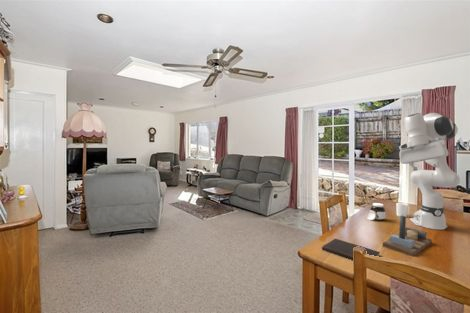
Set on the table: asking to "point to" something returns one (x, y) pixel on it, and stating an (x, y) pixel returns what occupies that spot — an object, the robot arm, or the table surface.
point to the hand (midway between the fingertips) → (425, 169)
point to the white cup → (401, 209)
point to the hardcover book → (344, 249)
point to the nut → (412, 235)
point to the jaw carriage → (402, 235)
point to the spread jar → (376, 212)
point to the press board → (418, 244)
